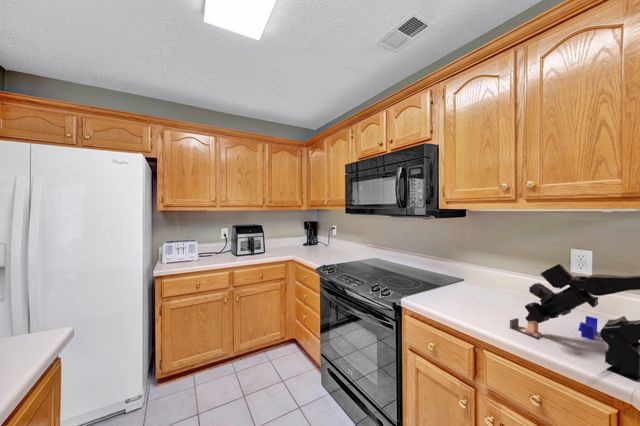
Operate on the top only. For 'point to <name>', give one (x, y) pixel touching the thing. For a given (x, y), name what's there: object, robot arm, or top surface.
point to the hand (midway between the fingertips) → (528, 318)
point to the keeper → (533, 328)
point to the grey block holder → (514, 325)
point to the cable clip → (588, 328)
